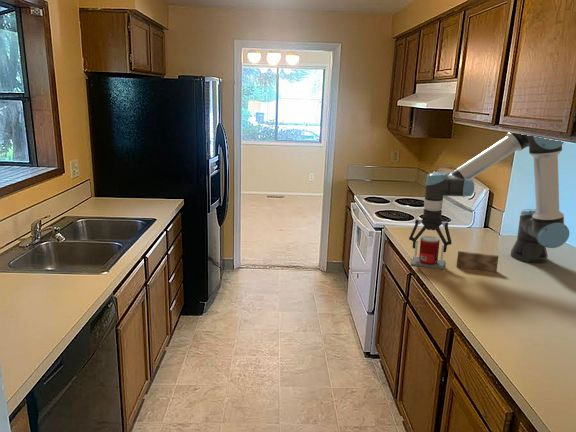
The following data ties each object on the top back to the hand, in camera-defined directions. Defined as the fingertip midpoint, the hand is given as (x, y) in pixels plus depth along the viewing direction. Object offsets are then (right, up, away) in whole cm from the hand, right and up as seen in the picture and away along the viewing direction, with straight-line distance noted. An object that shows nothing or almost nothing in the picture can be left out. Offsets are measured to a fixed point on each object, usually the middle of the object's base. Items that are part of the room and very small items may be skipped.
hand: (428, 257), depth 194 cm
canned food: (0, -2, +1) cm, 3 cm away
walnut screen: (+19, -5, -5) cm, 20 cm away
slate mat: (0, -3, +1) cm, 3 cm away
